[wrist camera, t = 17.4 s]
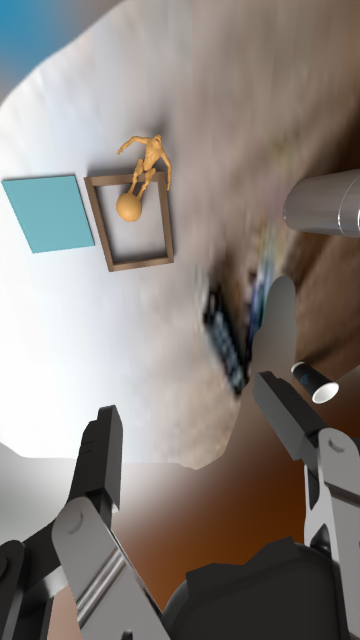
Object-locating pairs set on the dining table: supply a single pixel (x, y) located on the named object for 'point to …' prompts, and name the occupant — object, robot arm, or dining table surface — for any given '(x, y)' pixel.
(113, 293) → the dining table surface
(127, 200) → the figurine
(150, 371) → the dining table surface
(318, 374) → the dixie cup
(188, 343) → the dining table surface
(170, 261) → the brown wooden frame
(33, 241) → the teal pad
